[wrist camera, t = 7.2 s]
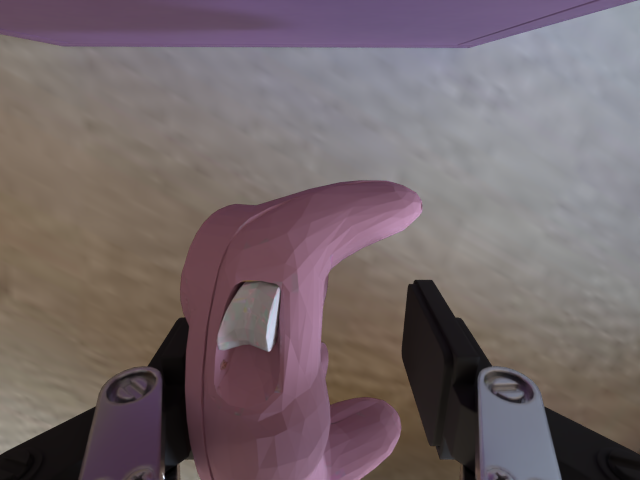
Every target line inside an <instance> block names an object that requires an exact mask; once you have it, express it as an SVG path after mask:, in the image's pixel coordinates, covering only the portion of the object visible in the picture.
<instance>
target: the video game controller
mask: <svg viewBox="0 0 640 480" xmlns="http://www.w3.org/2000/svg"><path fill="white" fill-rule="evenodd" d="M421 212H422V200H421V199H420V197H419V196H418V195H417V193H416V192H414V191H412V190H411V189H409V188H407V187H405V186H403V185H400V184H397V183H393V182H389V181H349V182H340V183H335V184H330V185H326V186H321V187H317V188H312V189H308V190H305V191H302V192H299V193H295V194H292V195H289V196H286V197H282V198H279V199H276V200H272V201H269V202H266V203H263V204H259V205H242V204H234V205H229V206H226V207H224V208H221V209H219V210H218V211H216V212H215V213H213V214H212V215H211V216H210V217H209V218H208V219H207V220H206V221H205V222H204V223H203V224H202V226H201V227H200V229H199V230H198V232H197V233H196V235H195V238H194V240H193V242H192V244H191V246H190V248H189V251H188V255H187V258H186V261H185V265H184V268H183V271H182V275H181V286H180V298H181V305H182V309H183V313H184V316H185V318H186V320H187V322H188V325H189V333H188V340H187V348H186V371H185V400H186V415H187V425H188V432H189V439H190V445H191V449H192V453H193V457H194V461H195V465H196V468H197V472H198V474H199V476H200V479H201V480H360V479H361V478H363V477H364V476H365V475H367V474H368V473H369V472H371V471H372V470H373V469H375V468H376V467H377V466H378V465H379V464H380V463H381V462H382V461H384V460H385V459H386V458H387V457H388V456H389V455H390V454H391V453H392V451H393V449H394V447H395V445H396V443H397V441H398V439H399V437H400V432H401V422H400V417H399V415H398V413H397V411H396V410H395V409H394V408H393V407H392V406H391V405H389V404H388V403H386V402H385V401H384V400H379V399H375V398H368V397H361V398H353V399H349V400H345V401H341V402H337V403H335V404H332V405H330V403H329V397H328V391H327V385H326V380H325V377H326V373H327V367H328V350H327V347H326V344H324V343H323V342H321V330H322V313H323V305H324V301H325V297H326V293H327V285H328V273H329V271H330V270H331V269H332V268H333V267H334V266H335V265H336V264H338V263H339V262H340V261H341V260H343V259H345V258H346V257H348V256H350V255H352V254H353V253H355V252H357V251H358V250H360V249H362V248H364V247H366V246H368V245H370V244H373V243H375V242H377V241H380V240H382V239H384V238H387V237H389V236H391V235H393V234H396V233H398V232H400V231H403V230H404V229H405V228H406V227H408V226H409V225H410V224H411V223H412V222H413V221H414V220H415V219H416V218H417V217H418V216H419V215H420V214H421Z"/></svg>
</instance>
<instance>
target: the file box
mask: <svg viewBox="0 0 640 480" xmlns="http://www.w3.org/2000/svg"><path fill="white" fill-rule="evenodd" d="M633 1H637V0H0V34H3V35H8V36H14V37H19V38H24V39H29V40H34V41H40V42H45V43H51V44H54V45H60V46H126V47H400V48H470V47H473V46H477V45H480V44H484V43H487V42H491V41H495V40H498V39H502V38H505V37H509V36H512V35H516V34H519V33H523V32H527V31H530V30H534V29H537V28H541V27H544V26H548V25H551V24H555V23H559V22H562V21H566V20H569V19H573V18H576V17H580V16H583V15H587V14H591V13H594V12H598V11H601V10H605V9H608V8H612V7H615V6H619V5H623V4H626V3H630V2H633Z"/></svg>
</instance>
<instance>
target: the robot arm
mask: <svg viewBox="0 0 640 480" xmlns="http://www.w3.org/2000/svg"><path fill="white" fill-rule="evenodd" d="M188 333H189V325H188V322H187V320H186V318H179V319H178V320H177V321H176V323H175V324H174V326H173V327H172V329H171V331H170V332H169V334H168V335H167V337H166V338H165V340H164V341H163V343H162V345H161V346H160V348H159V349H158V351H157V352H156V354H155V356H154V357H153V359H152V360H151V362H150V363H149V365H148V366H147V367H146V366H141V367H134V368H131V369H127V370H124V371H122V372H120V373H118V374H116V375H115V376H113V377H112V378H111V379H109V380H108V381H107V382H106V383H105V384H104V386H103V387H102V389H101V391H100V393H99V396H98V400H97V404H96V407H94V408H92V409H90V410H88V411H86V412H84V413H82V414H80V415H78V416H76V417H74V418H72V419H70V420H68V421H66V422H64V423H62V424H60V425H58V426H56V427H54V428H52V429H50V430H48V431H46V432H44V433H42V434H40V435H38V436H36V437H34V438H32V439H30V440H28V441H26V442H24V443H22V444H20V445H18V446H16V447H14V448H12V449H10V450H8V451H6V452H5V453H3V454H1V455H0V480H180V465H179V463H180V462H182V461H183V460H185V459H194V457H193V453H192V449H191V445H190V439H189V432H188V425H187V415H186V400H185V371H186V348H187V340H188ZM402 359H403V363H404V366H405V369H406V372H407V376H408V379H409V382H410V385H411V388H412V392H413V395H414V398H415V401H416V404H417V408H418V411H419V414H420V417H421V420H422V423H423V427H424V430H425V433H426V436H427V439H428V442H429V444H430V446H436V449H437V452H438V455H439V458H440V459H455V460H457V461H458V462H460V463H461V465H460V480H640V455H639V454H637V453H635V452H634V451H632V450H630V449H628V448H626V447H624V446H622V445H620V444H618V443H616V442H614V441H612V440H610V439H608V438H606V437H604V436H602V435H600V434H598V433H596V432H594V431H592V430H590V429H588V428H586V427H584V426H582V425H580V424H578V423H576V422H574V421H572V420H570V419H568V418H566V417H564V416H562V415H560V414H558V413H556V412H554V411H552V410H550V409H548V408H546V407H544V404H543V400H542V396H541V393H540V391H539V389H538V387H537V386H536V384H535V383H534V382H533V381H532V380H531V379H529V378H528V377H527V376H525V375H524V374H522V373H520V372H518V371H516V370H513V369H509V368H506V367H499V366H494V367H492V365H491V364H490V362H489V360H488V359H487V357H486V356H485V354H484V353H483V351H482V350H481V348H480V346H479V345H478V343H477V342H476V340H475V339H474V337H473V335H472V334H471V332H470V331H469V329H468V328H467V326H466V325H465V323H464V321H463V320H462V319H461V318H455V316H454V315H453V313H452V311H451V310H450V308H449V306H448V305H447V303H446V302H445V300H444V298H443V297H442V295H441V293H440V292H439V290H438V289H437V287H436V285H435V284H434V282H433V281H432V280H415V281H414V283H413V284H409V285H408V291H407V301H406V311H405V321H404V331H403V341H402Z"/></svg>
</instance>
